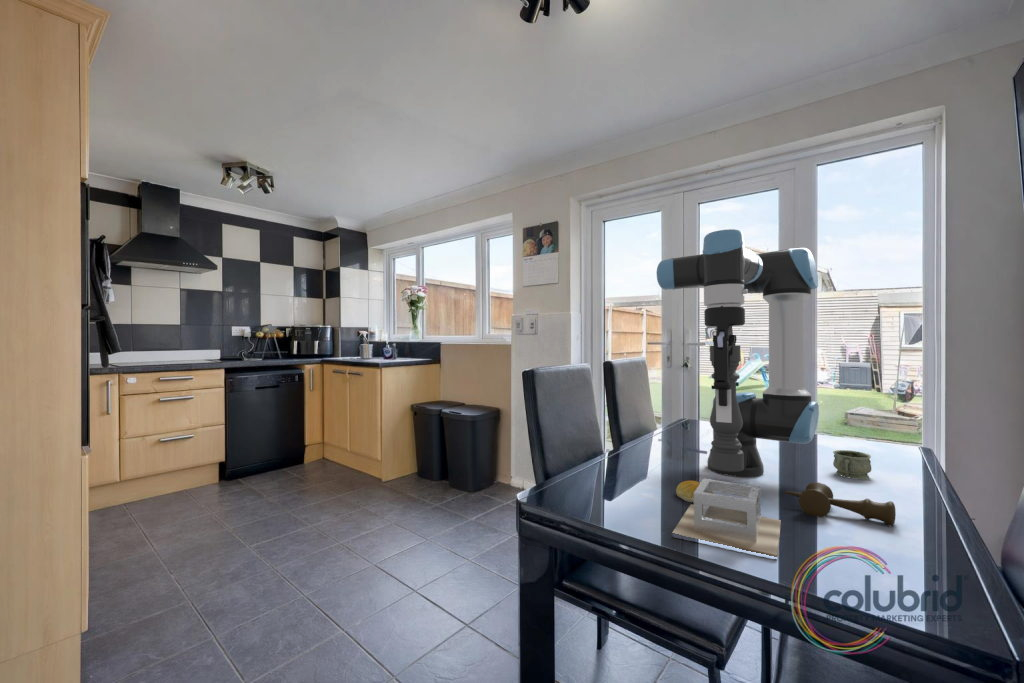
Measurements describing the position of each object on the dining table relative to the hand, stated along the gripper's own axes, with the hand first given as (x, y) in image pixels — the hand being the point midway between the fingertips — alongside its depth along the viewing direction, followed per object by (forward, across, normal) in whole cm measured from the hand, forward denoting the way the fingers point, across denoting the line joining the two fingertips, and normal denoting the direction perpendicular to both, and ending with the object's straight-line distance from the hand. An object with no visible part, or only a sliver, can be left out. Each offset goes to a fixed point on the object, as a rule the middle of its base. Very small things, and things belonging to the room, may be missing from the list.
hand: (726, 419), depth 91 cm
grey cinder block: (+23, 0, 0) cm, 23 cm away
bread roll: (+23, +18, +10) cm, 31 cm away
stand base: (+23, 0, 0) cm, 23 cm away
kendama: (+23, +22, -19) cm, 38 cm away
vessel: (+23, +59, -25) cm, 68 cm away
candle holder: (+10, 0, 0) cm, 10 cm away
